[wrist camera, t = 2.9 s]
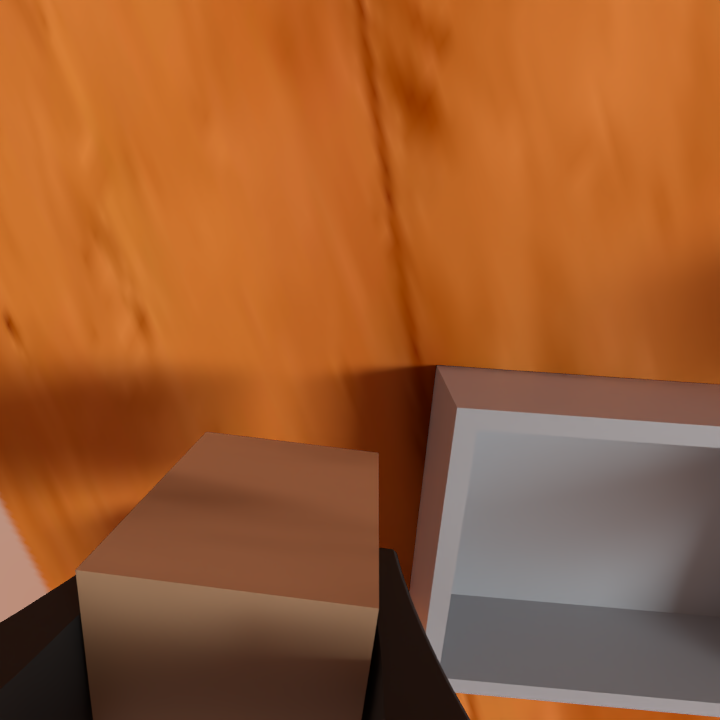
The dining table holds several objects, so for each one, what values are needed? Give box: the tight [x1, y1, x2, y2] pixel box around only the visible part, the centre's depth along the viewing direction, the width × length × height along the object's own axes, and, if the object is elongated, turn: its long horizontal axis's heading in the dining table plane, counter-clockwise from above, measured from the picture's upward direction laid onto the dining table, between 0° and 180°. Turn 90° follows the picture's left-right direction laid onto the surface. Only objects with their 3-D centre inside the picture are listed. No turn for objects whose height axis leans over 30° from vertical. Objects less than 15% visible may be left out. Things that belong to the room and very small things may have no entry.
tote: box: [409, 365, 720, 717], centre depth 17 cm, size 14×18×5 cm
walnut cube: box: [75, 432, 379, 720], centre depth 9 cm, size 5×5×5 cm
